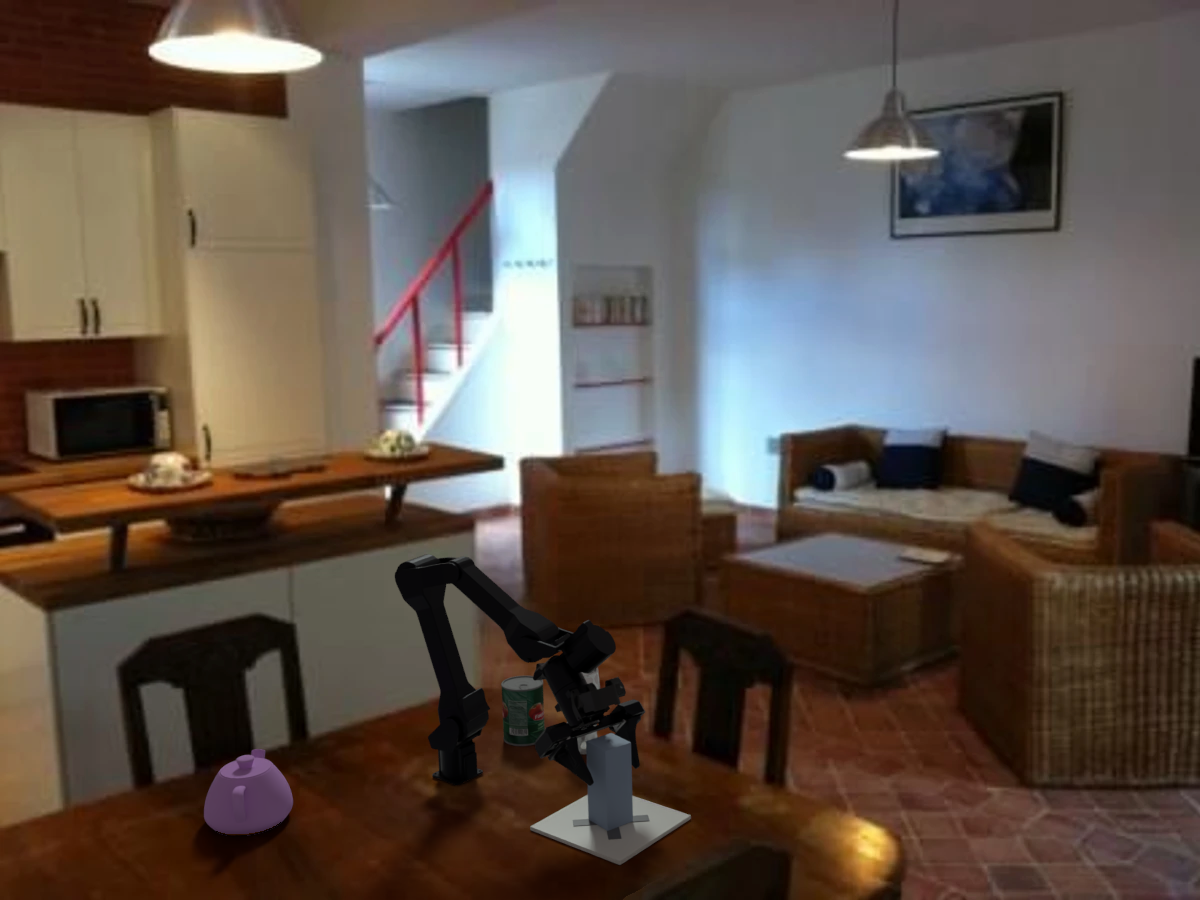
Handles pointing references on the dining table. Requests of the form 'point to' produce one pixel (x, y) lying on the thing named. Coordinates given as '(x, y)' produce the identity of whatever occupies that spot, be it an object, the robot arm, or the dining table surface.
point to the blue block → (610, 781)
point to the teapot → (247, 796)
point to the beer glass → (594, 679)
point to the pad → (614, 843)
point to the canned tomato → (522, 710)
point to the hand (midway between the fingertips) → (615, 775)
